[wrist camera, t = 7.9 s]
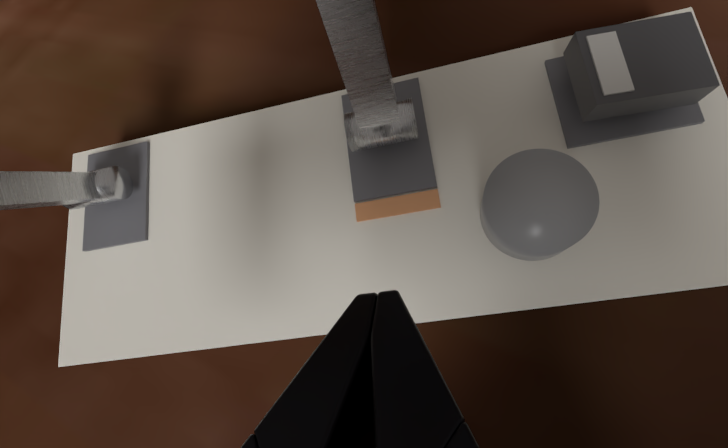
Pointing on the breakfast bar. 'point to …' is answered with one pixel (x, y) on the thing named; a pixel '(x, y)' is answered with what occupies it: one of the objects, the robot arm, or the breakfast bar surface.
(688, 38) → the block
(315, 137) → the control panel
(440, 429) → the robot arm
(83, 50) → the breakfast bar surface
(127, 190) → the lever
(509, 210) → the push button
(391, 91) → the copper ball joystick
